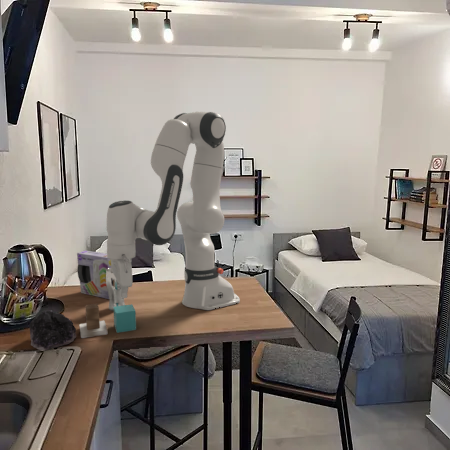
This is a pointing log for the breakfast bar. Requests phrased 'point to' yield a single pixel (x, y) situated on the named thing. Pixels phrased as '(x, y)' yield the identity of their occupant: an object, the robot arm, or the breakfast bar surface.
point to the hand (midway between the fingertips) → (121, 292)
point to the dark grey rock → (51, 330)
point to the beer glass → (113, 290)
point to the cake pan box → (93, 273)
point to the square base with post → (92, 323)
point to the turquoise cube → (124, 318)
